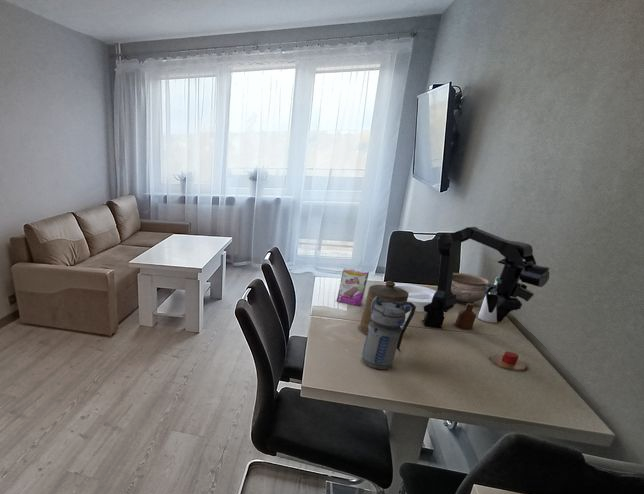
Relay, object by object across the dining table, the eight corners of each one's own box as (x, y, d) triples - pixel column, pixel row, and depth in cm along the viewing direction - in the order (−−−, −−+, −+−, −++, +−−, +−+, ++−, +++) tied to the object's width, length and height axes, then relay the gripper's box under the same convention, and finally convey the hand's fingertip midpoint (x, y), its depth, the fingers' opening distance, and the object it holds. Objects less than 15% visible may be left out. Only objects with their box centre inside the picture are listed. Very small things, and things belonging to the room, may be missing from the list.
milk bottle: (501, 324, 183) (517, 281, 174) (482, 322, 184) (497, 279, 176) (493, 317, 189) (508, 275, 181) (474, 315, 191) (488, 274, 183)
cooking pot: (438, 290, 222) (445, 268, 217) (480, 297, 213) (488, 275, 208) (438, 305, 202) (445, 281, 197) (484, 313, 193) (492, 289, 188)
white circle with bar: (440, 298, 211) (443, 289, 209) (441, 316, 189) (444, 306, 187) (381, 288, 224) (383, 279, 222) (375, 303, 202) (377, 294, 200)
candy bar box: (336, 301, 203) (342, 269, 196) (338, 298, 207) (344, 267, 200) (360, 306, 198) (367, 274, 191) (362, 303, 201) (369, 271, 195)
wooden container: (402, 331, 173) (416, 281, 164) (391, 342, 163) (404, 290, 154) (367, 321, 182) (377, 273, 173) (353, 331, 172) (364, 281, 163)
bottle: (456, 328, 177) (464, 305, 173) (452, 322, 183) (459, 300, 178) (473, 330, 175) (481, 307, 171) (469, 324, 181) (476, 302, 177)
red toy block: (500, 361, 149) (503, 353, 148) (503, 358, 152) (506, 350, 150) (513, 365, 146) (516, 358, 145) (517, 362, 149) (520, 354, 148)
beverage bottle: (401, 374, 141) (420, 306, 131) (359, 367, 145) (374, 300, 134) (397, 360, 149) (414, 296, 139) (358, 354, 153) (372, 291, 143)
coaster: (496, 367, 146) (497, 366, 146) (487, 355, 155) (487, 353, 155) (530, 373, 144) (531, 371, 143) (518, 359, 152) (519, 357, 152)
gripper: (547, 289, 140) (529, 330, 146) (525, 273, 156) (510, 311, 162) (508, 285, 143) (493, 325, 149) (490, 269, 159) (477, 307, 165)
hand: (494, 317), depth 157 cm, fingers open, 9 cm apart
